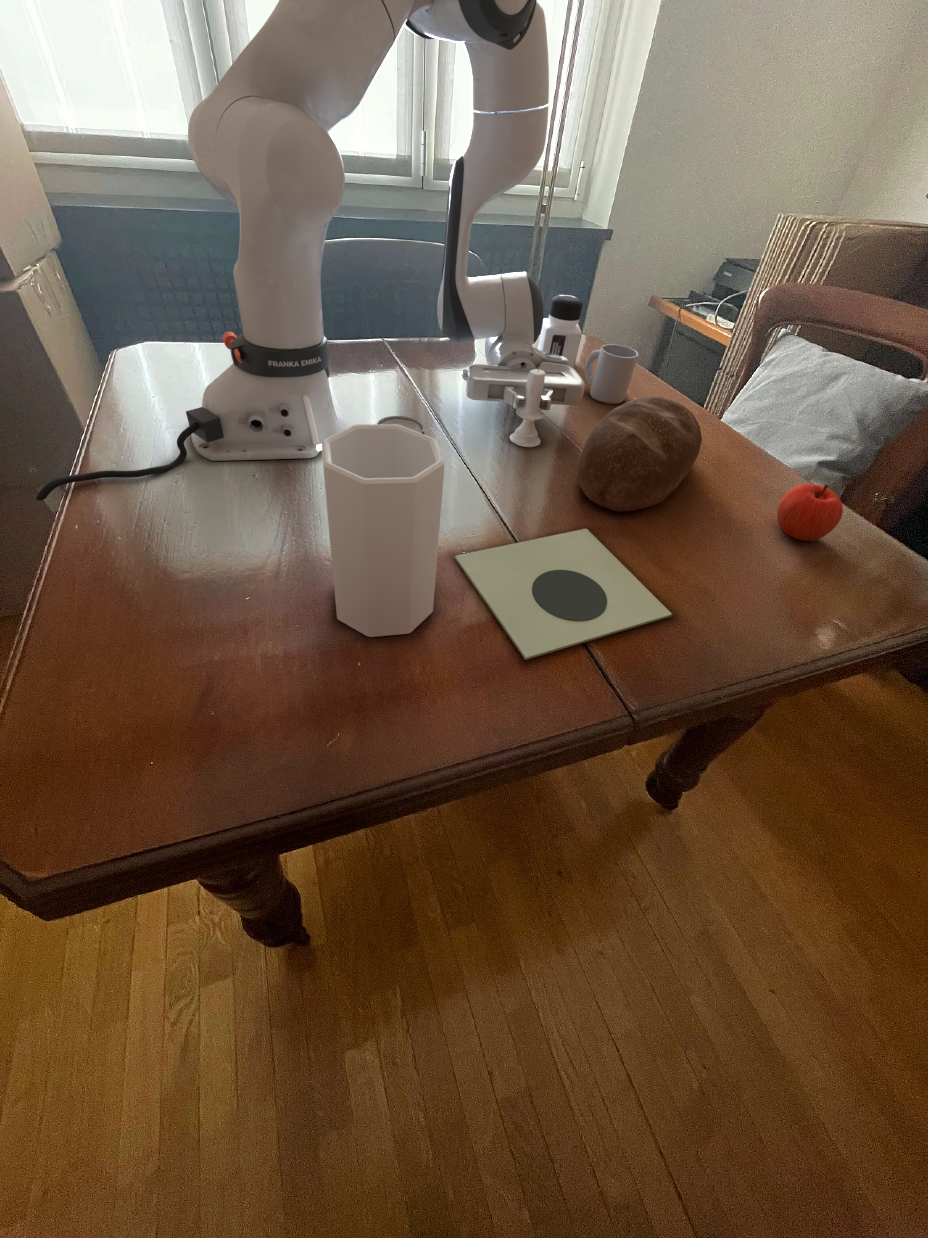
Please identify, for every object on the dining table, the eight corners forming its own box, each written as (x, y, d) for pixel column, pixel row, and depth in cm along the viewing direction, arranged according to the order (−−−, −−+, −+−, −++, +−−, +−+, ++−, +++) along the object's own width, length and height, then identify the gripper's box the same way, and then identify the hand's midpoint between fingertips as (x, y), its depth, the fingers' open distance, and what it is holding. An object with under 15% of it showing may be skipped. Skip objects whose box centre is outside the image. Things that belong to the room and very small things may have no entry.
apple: (773, 511, 84) (801, 464, 79) (828, 532, 82) (860, 485, 76) (761, 533, 79) (789, 484, 74) (819, 556, 77) (853, 507, 71)
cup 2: (614, 407, 107) (628, 360, 101) (571, 391, 111) (581, 344, 105) (630, 398, 112) (644, 352, 105) (588, 382, 116) (599, 337, 109)
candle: (546, 444, 93) (562, 372, 85) (522, 450, 91) (536, 376, 82) (527, 430, 96) (540, 359, 88) (503, 436, 94) (514, 363, 85)
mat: (525, 660, 57) (526, 657, 57) (454, 558, 68) (455, 554, 68) (671, 616, 64) (672, 613, 64) (585, 530, 75) (586, 527, 75)
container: (573, 370, 120) (589, 304, 111) (539, 366, 120) (551, 300, 111) (569, 357, 126) (583, 294, 117) (536, 354, 125) (548, 290, 116)
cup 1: (420, 648, 57) (430, 493, 44) (317, 627, 57) (297, 468, 44) (442, 581, 65) (456, 433, 52) (351, 563, 65) (342, 413, 52)
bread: (551, 493, 82) (569, 419, 74) (621, 429, 100) (641, 365, 92) (650, 533, 76) (680, 459, 69) (704, 458, 95) (733, 393, 87)
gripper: (461, 349, 94) (471, 381, 84) (575, 357, 97) (597, 388, 87) (458, 386, 98) (467, 420, 89) (566, 392, 102) (587, 426, 92)
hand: (532, 405), depth 88 cm, fingers open, 3 cm apart
